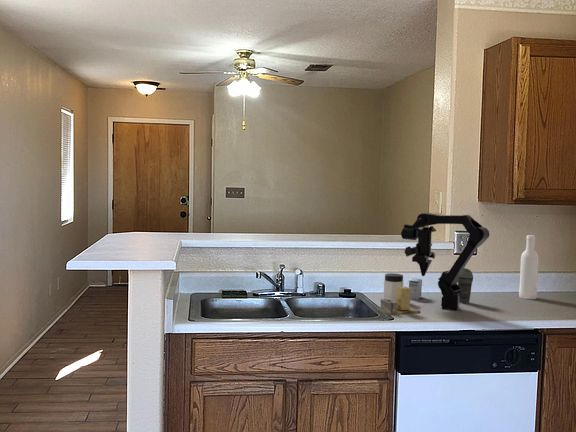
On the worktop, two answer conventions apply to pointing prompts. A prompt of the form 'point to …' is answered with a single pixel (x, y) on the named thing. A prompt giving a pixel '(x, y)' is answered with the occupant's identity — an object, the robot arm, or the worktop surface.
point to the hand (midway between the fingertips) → (423, 276)
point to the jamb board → (394, 308)
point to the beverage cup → (465, 285)
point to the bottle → (529, 270)
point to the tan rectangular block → (403, 298)
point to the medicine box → (415, 288)
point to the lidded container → (392, 285)
